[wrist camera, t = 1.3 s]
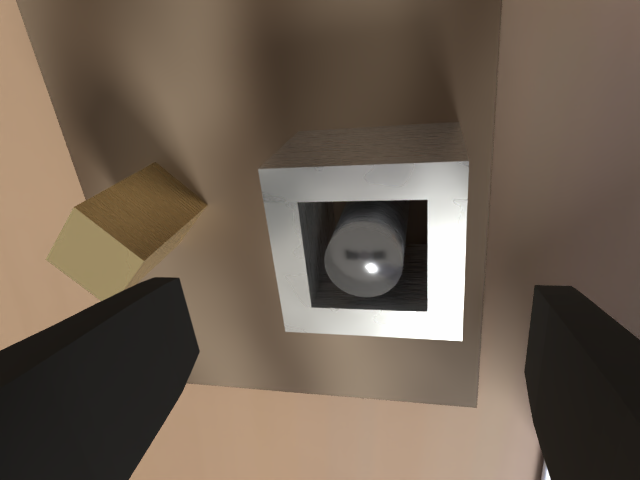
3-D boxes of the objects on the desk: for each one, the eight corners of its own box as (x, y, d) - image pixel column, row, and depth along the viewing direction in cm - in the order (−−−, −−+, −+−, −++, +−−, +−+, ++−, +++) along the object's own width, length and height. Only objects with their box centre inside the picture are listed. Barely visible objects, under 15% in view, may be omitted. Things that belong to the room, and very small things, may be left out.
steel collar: (459, 121, 14) (469, 160, 10) (454, 267, 16) (461, 341, 12) (298, 131, 15) (258, 168, 11) (315, 265, 17) (285, 331, 13)
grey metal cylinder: (409, 171, 15) (401, 228, 11) (410, 228, 15) (403, 298, 12) (348, 174, 15) (320, 228, 11) (352, 228, 16) (328, 295, 12)
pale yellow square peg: (155, 161, 16) (74, 207, 13) (208, 204, 17) (144, 260, 13) (128, 206, 18) (45, 259, 14) (177, 245, 18) (111, 308, 14)
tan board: (506, -150, 11) (511, -163, 11) (474, 389, 19) (477, 407, 18) (19, -59, 15) (-6, -62, 14) (159, 365, 23) (148, 380, 22)
